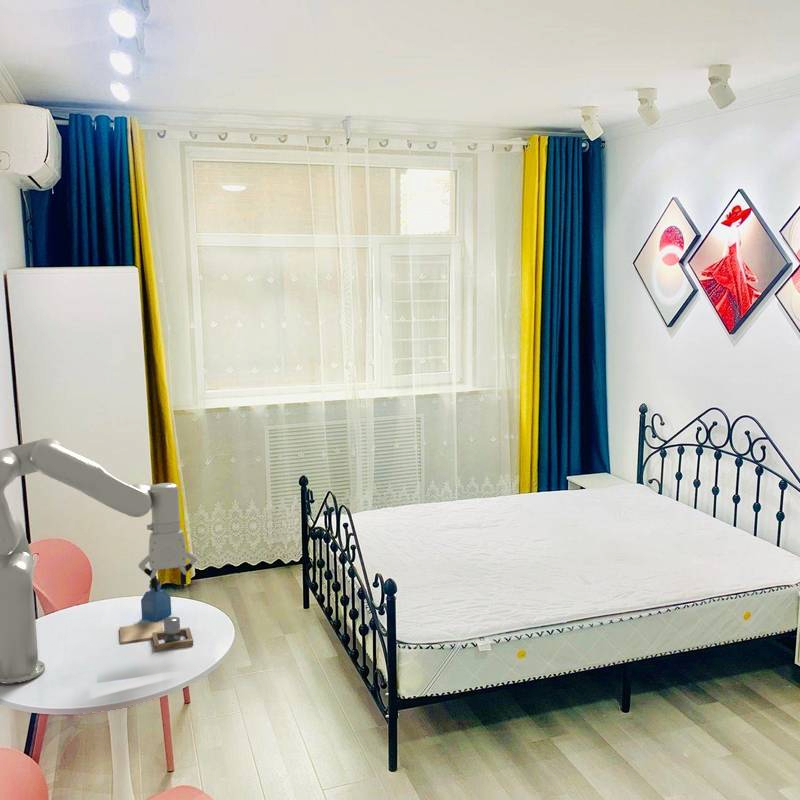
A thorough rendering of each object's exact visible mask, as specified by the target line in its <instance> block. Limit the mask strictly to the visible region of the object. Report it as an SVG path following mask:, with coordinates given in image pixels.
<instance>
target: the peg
mask: <svg viewBox="0 0 800 800" xmlns="http://www.w3.org/2000/svg"><path fill="white" fill-rule="evenodd" d="M180 620H181V619H180V617H178V616H168V617H166V618H164V619H163V631H164V643H167V642H174V641H180V640H181V638H182V637H181V635H180V629H181V621H180Z"/></svg>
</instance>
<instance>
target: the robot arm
mask: <svg viewBox="0 0 800 800" xmlns="http://www.w3.org/2000/svg"><path fill="white" fill-rule="evenodd" d="M33 473H40V474H42V475H44V476H47V477H48V478H50V479H53V480H54V481H55V480H56V481H57V482H60V483H61V484H64V485H67V486H68V487H71V488H73V489H76V490H77V491H79V492H81V493H82V494H85V495H86V496H87V497H90V498H92V499H93V500H95V501H97V502H99V503H101V504H102V505H104V506H106V507H108V508H111V509H113V510H115V511H117V512H119V513H121V514H124V515H126V516H129V517H132V518H142V517H144V516H145V515H148V513H149V512H150V511H151V523H150V524H148V525H146V530H147V531H149V530H150V531H151V532H150V534H149V540H148V554H147V556H145V557H144V558H143V559H142V560H141V561H140V562H139V563H138V564H137V565H138V566H137V567H138V569H140V570H141V571H142V572H143V573H145V574H146V575H147V576H148V577H149V578H150V580H151V586H152V588H154V591H155V592H157V579H158V577H157V573H158V571H159V570H166V569H168V570H169V569H175V568H176V569H177V568H178V569H179V570H180V573H179V576H180V587H181V589H185V585H187V574H188V572H189V571H190V570H191V568H192V567H193V566H194V565H195V564H196V562H197V561H198V559H197V557H196V556H194V555H193V554H192V553H190V552H189V551H187V545H186V538H185V534H184V533H185V532H184V531H183V529H181V518H180V499H179V498H180V497H179V495H180V494H179V487H178V485H177V484H176V483H173V482H161V483H157V484H145V483H134V484H129V483H128V484H127V483H125V482H123V481H121V479H117V478H116V477H114V476H113V475H112V474H110V473H109V472H108V471H107V470H105V469H104V468H103V467H102V466H101V465H100V464H98V463H97V462H95V461H93V460H92V459H89V458H87V457H84V456H82V455H80V454H78V453H75V452H73V451H71V450H69V449H67V448H65V447H64V446H63V445H62V444H61V442H59V441H58V440H57V439H54V438H42V439H38V440H37V439H36V440H34V441H31V442H26V443H22V444H18V445H14V446H13V445H12V446H10V447H6V448H3V449H2V448H1V449H0V682H8V683H7V684H13V683H12V682H18V683H22V681H23V682H26V680H27V681H30V680H32V679H35V678H37V677H38V676H40V675H42V674H43V673H44V672H45V670H46V665H45V663H44V662H43V661H40V660H39V652H38V651H39V650H38V638H37V619H36V610H35V596H34V585H33V584H34V583H33V581H34V580H33V579H34V573H35V559H34V556H33V554H32V551H31V548H30V545H29V542H28V539H27V538H28V537H27V536H26V532H25V530H24V527H23V524H22V523H21V521H20V520H19V519H18V518H17V517H16V516H14V515H12V513H11V511H10V507H9V503H8V501H7V498H6V495H5V490H6V487H8V486H9V485H10V484H11V483H13V482H14V480H15V479H16V478H19V477H23V476H26V475H30V474H33ZM188 559H189V561H188ZM187 561H188V563H187ZM148 563H149V567H150V568H148V567H147V566H146V565H147V564H148Z"/></svg>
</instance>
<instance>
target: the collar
mask: <svg viewBox="0 0 800 800" xmlns="http://www.w3.org/2000/svg"><path fill="white" fill-rule="evenodd" d="M152 635H153V639H152V641H153V649H154V652H158V651H164V650H171V649H178V648H185V647H191V646H194V639H193V635H192V633H191V629H190V627H182V628H181V627H180V636H183V635H185V637H186V639H182V640H180V641H174V642H167V643H165V642H162V643H160V642H159V639H162V638H161V637H160V638H158V636H164V630H163V631H161V632H154V633H152Z"/></svg>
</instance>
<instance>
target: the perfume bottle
mask: <svg viewBox="0 0 800 800" xmlns="http://www.w3.org/2000/svg"><path fill="white" fill-rule="evenodd" d="M148 585H149V586H148V587H149V588H148V589H150V590H148V591H146V592H145V593H144V595H142V598H141V600H140V603H141V607H140V608H141V619H142V620H144V621H148V622H151V623H153V622H160V621H162V620H164V619H166V618H169V617H171V615H172V599H171V596H170V595H169V593H168V592H167V591H166V590H164V589H163V588H162V589H161V587H162V583H161V579H159V578H157V592H155V591H154V588H152V586H151V579H149V584H148Z"/></svg>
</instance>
